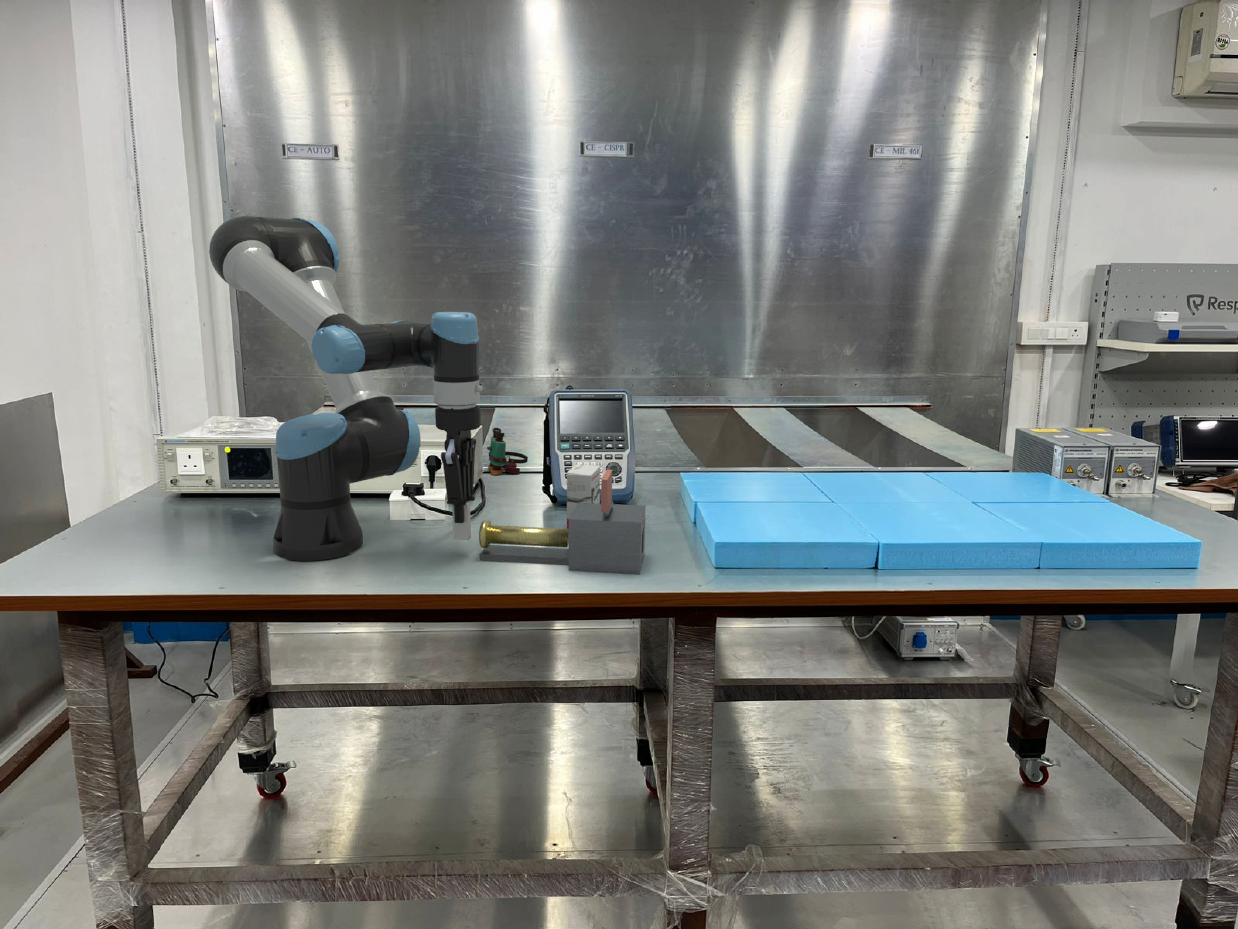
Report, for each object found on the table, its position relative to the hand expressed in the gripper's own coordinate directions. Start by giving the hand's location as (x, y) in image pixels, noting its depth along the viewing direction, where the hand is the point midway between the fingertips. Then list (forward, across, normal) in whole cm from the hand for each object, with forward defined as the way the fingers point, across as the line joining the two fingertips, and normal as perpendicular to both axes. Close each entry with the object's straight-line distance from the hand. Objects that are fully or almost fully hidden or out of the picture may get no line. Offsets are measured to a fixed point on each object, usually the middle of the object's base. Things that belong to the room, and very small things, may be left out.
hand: (462, 538), depth 147 cm
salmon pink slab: (-6, 0, -26) cm, 26 cm away
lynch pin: (+2, 0, -11) cm, 11 cm away
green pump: (+3, +61, +7) cm, 61 cm away
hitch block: (+3, 0, -18) cm, 18 cm away
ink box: (+3, +19, -18) cm, 27 cm away
